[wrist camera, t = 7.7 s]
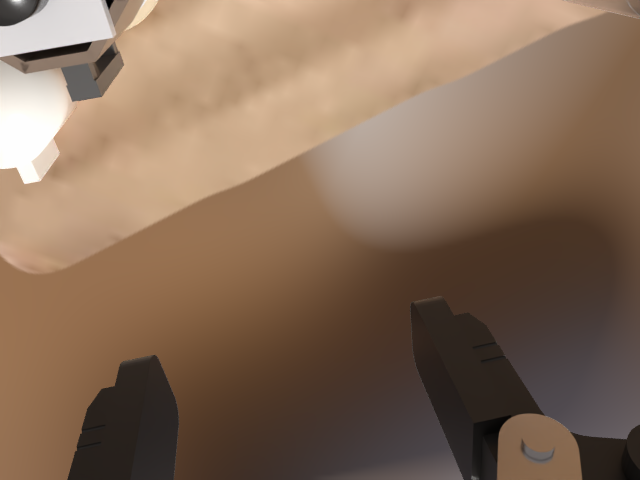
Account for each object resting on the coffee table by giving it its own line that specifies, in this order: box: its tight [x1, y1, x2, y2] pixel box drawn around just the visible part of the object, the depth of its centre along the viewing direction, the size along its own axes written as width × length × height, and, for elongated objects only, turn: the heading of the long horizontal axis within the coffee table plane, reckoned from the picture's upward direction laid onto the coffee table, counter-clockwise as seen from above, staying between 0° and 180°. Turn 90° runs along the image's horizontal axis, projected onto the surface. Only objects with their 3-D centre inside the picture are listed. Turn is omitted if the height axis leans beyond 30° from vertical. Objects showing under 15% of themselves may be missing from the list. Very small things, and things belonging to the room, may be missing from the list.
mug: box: [0, 60, 79, 184], centre depth 40 cm, size 8×10×9 cm
